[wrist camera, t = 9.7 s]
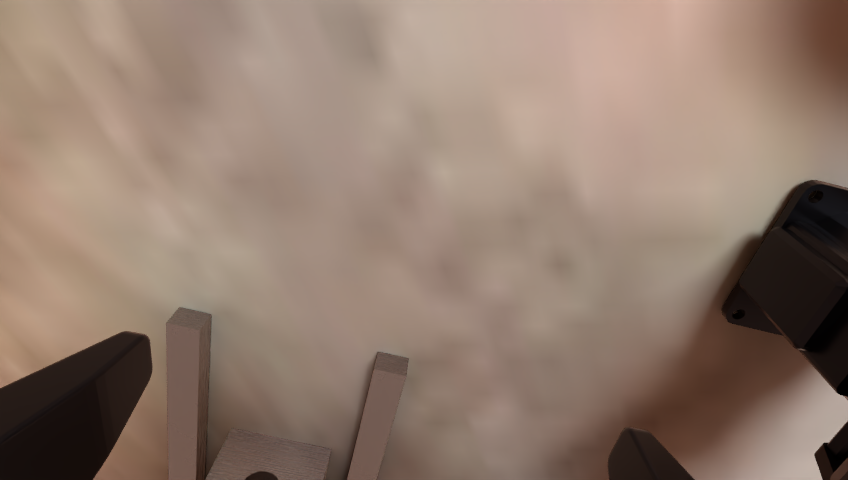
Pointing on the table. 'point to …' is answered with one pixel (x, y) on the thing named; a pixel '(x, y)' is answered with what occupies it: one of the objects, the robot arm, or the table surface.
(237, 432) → the metal box with button
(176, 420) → the channel
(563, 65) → the table surface
